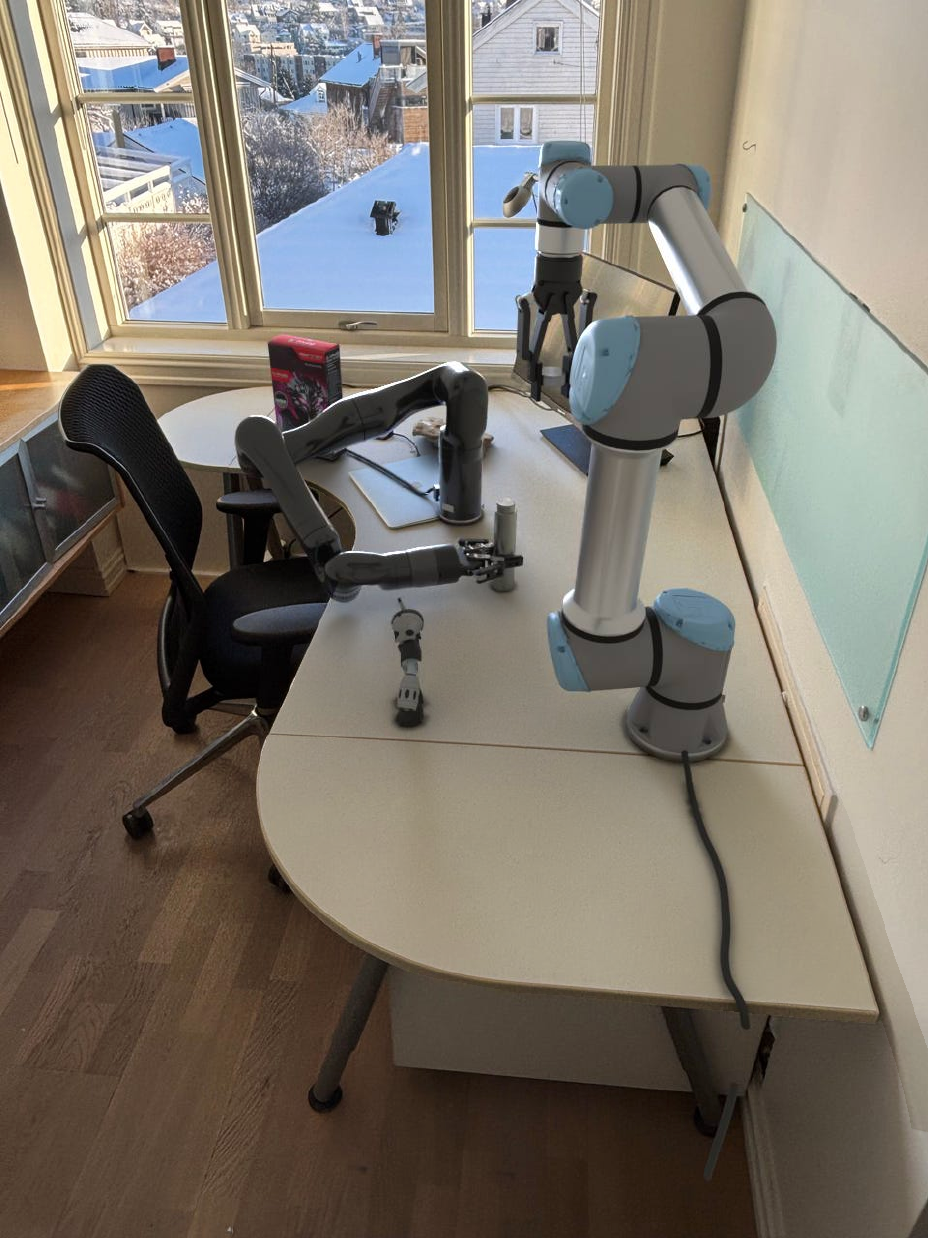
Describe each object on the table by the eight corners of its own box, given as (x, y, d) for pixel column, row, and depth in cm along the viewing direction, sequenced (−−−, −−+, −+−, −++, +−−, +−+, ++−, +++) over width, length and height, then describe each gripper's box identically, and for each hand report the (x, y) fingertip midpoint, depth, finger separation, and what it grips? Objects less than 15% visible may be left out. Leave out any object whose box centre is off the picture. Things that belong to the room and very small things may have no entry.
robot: (426, 751, 138) (424, 643, 127) (394, 752, 138) (389, 643, 127) (424, 672, 155) (422, 570, 143) (395, 673, 154) (391, 570, 143)
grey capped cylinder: (488, 584, 179) (490, 500, 169) (505, 578, 181) (508, 494, 171) (500, 593, 176) (503, 508, 166) (518, 587, 178) (522, 503, 168)
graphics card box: (276, 448, 231) (264, 340, 216) (293, 439, 236) (282, 332, 221) (333, 462, 225) (324, 351, 209) (349, 452, 230) (341, 343, 214)
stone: (396, 441, 228) (401, 417, 225) (415, 432, 241) (420, 409, 239) (476, 465, 224) (482, 442, 222) (491, 455, 237) (496, 432, 235)
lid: (571, 384, 154) (572, 373, 153) (546, 388, 152) (547, 377, 151) (555, 375, 158) (555, 365, 157) (531, 380, 156) (531, 369, 155)
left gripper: (422, 564, 179) (506, 552, 183) (440, 602, 168) (529, 589, 172) (421, 530, 175) (507, 519, 179) (440, 567, 163) (531, 554, 167)
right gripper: (600, 244, 149) (589, 385, 162) (497, 251, 144) (493, 395, 157) (621, 253, 143) (608, 399, 156) (514, 261, 138) (509, 410, 151)
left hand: (517, 553), depth 175 cm, fingers closed on grey capped cylinder, 4 cm apart
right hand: (550, 397), depth 156 cm, fingers closed on lid, 5 cm apart
